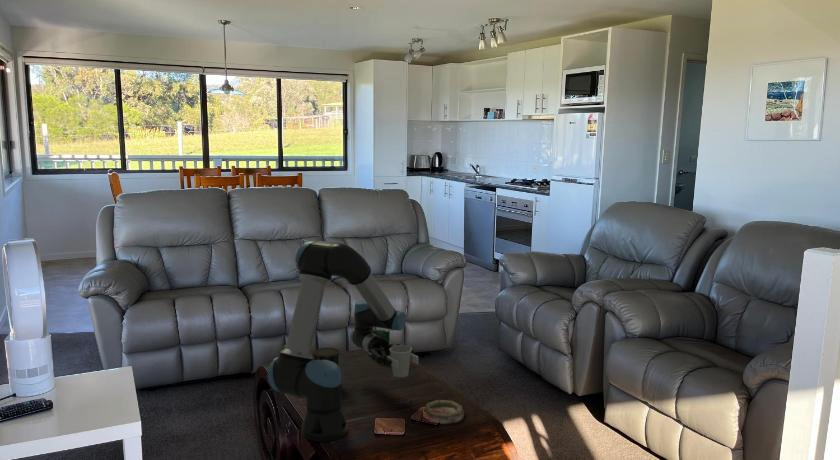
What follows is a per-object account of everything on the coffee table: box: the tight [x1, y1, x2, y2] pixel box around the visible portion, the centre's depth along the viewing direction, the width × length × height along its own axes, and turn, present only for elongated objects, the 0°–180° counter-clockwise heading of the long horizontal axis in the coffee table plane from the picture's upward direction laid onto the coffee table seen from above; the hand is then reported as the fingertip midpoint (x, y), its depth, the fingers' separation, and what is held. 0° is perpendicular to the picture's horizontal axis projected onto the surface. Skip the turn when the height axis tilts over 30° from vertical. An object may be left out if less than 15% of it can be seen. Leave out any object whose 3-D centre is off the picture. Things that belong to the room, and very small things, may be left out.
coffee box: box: [373, 328, 391, 356], centre depth 271 cm, size 8×3×13 cm, turn 88°
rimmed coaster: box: [423, 399, 465, 425], centre depth 215 cm, size 15×15×2 cm
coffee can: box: [313, 347, 341, 368], centre depth 240 cm, size 10×10×14 cm
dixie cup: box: [389, 344, 413, 378], centre depth 222 cm, size 8×8×10 cm
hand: (407, 362), depth 218 cm, fingers closed on dixie cup, 8 cm apart
